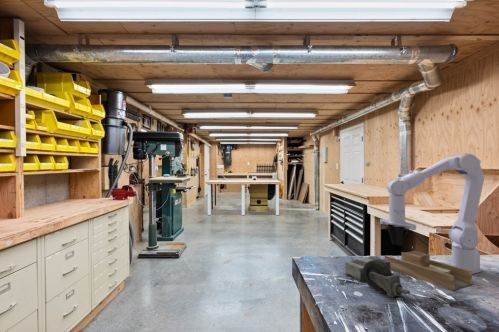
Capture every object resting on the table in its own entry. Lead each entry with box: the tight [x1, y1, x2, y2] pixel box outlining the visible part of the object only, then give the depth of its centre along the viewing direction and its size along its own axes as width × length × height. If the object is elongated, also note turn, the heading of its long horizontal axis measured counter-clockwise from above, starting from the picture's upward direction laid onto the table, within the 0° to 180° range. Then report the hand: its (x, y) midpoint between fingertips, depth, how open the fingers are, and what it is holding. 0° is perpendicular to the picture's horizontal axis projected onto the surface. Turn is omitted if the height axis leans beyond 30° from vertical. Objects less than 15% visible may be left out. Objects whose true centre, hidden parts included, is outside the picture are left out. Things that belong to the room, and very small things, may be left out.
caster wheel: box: [363, 260, 410, 298], centre depth 92 cm, size 6×10×15 cm
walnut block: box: [404, 250, 431, 267], centre depth 109 cm, size 6×6×4 cm
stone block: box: [344, 256, 392, 282], centre depth 108 cm, size 9×14×5 cm, turn 113°
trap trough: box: [384, 252, 473, 292], centre depth 107 cm, size 11×25×4 cm, turn 27°
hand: (397, 245), depth 117 cm, fingers closed
